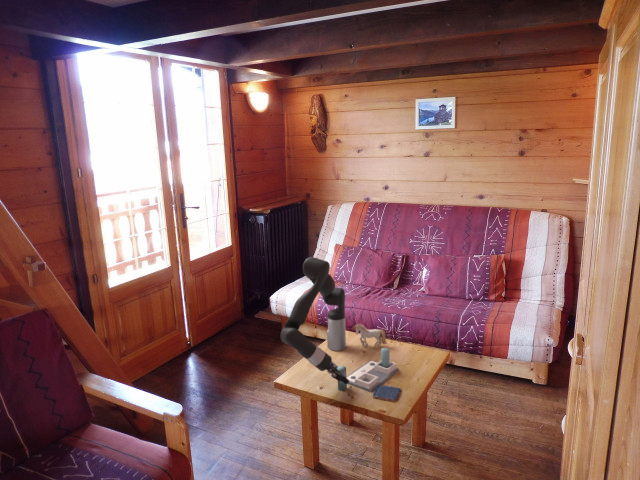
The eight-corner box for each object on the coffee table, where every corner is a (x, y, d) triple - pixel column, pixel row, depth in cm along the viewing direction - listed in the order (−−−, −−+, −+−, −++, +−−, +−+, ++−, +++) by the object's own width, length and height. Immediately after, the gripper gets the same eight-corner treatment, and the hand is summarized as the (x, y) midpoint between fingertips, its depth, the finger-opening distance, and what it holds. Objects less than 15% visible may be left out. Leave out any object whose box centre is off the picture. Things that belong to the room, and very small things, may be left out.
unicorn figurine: (349, 346, 247) (348, 322, 244) (383, 342, 250) (383, 319, 247) (352, 351, 240) (351, 327, 237) (387, 347, 243) (387, 324, 240)
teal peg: (336, 389, 203) (335, 368, 201) (341, 385, 206) (340, 365, 204) (343, 392, 200) (342, 371, 198) (348, 388, 203) (348, 367, 201)
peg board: (342, 381, 209) (341, 359, 207) (370, 361, 227) (370, 341, 225) (371, 392, 199) (370, 369, 197) (398, 370, 217) (398, 349, 215)
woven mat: (396, 403, 190) (396, 399, 190) (372, 399, 195) (372, 395, 194) (402, 391, 200) (402, 387, 199) (379, 387, 204) (379, 383, 203)
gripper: (327, 358, 191) (356, 381, 196) (321, 344, 205) (348, 366, 210) (315, 372, 191) (344, 394, 196) (310, 357, 205) (337, 378, 210)
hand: (346, 379), depth 203 cm, fingers closed on teal peg, 4 cm apart
